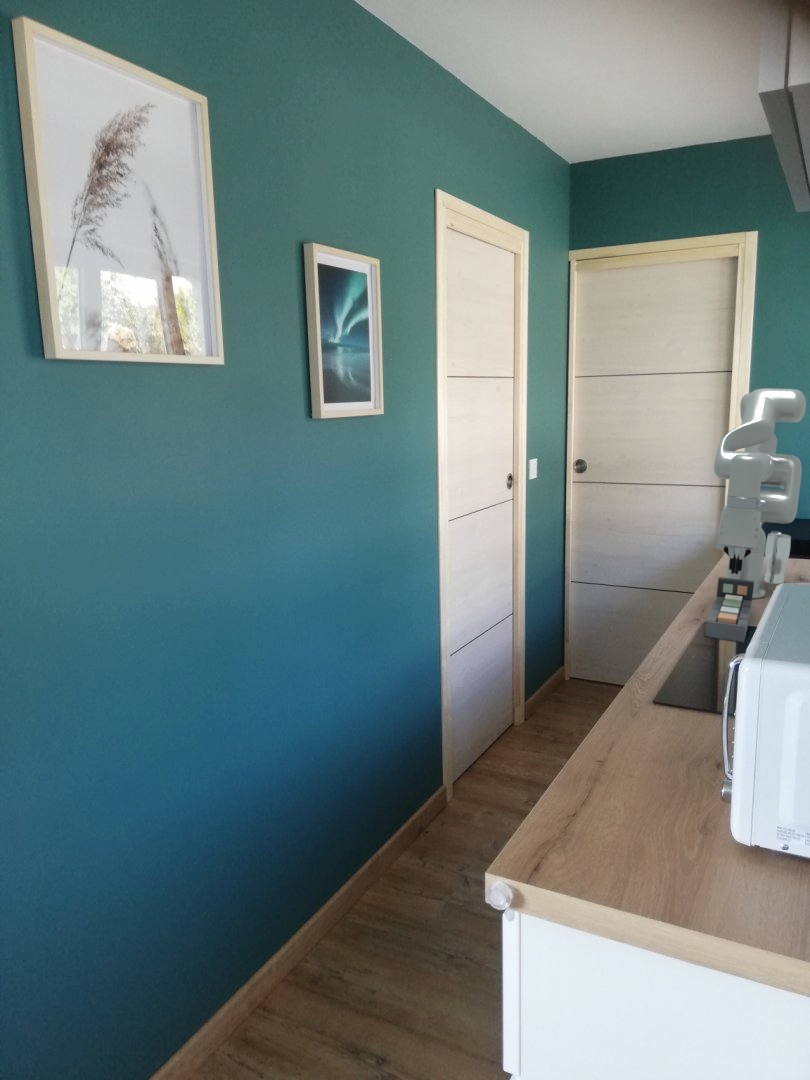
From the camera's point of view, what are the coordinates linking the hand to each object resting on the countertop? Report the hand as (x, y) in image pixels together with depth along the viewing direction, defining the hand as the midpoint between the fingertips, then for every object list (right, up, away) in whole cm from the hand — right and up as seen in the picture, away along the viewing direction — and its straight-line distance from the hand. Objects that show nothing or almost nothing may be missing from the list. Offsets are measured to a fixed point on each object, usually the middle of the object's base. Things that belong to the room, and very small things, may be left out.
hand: (734, 572), depth 209 cm
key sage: (0, -10, +3) cm, 10 cm away
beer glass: (+30, -5, +43) cm, 53 cm away
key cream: (+3, -8, +8) cm, 12 cm away
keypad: (-1, -13, +2) cm, 14 cm away
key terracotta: (-5, -12, -8) cm, 15 cm away
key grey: (-3, -11, -3) cm, 11 cm away
